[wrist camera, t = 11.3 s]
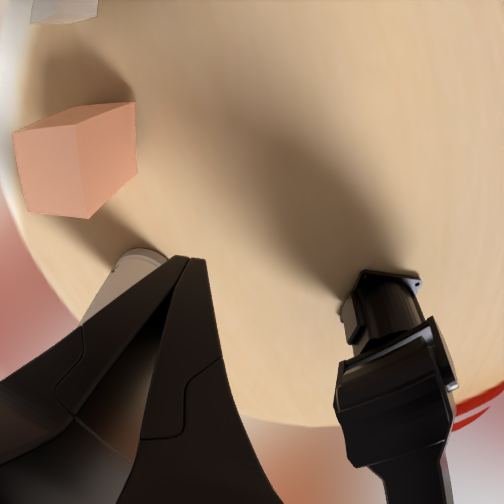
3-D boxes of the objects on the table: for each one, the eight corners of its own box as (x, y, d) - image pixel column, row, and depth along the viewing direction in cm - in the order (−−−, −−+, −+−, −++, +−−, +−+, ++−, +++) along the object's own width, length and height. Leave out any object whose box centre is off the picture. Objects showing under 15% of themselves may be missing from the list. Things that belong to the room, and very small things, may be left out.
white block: (100, -13, 11) (62, -21, 7) (96, 16, 12) (57, 13, 9) (73, -4, 11) (34, -9, 7) (69, 24, 13) (29, 24, 9)
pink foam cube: (135, 101, 16) (75, 124, 11) (137, 172, 19) (88, 219, 14) (75, 106, 16) (12, 132, 11) (81, 170, 19) (27, 212, 14)
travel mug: (108, 246, 24) (-3, 442, 8) (172, 246, 24) (74, 490, 8) (128, 295, 28) (52, 472, 12) (186, 299, 27) (125, 505, 11)
